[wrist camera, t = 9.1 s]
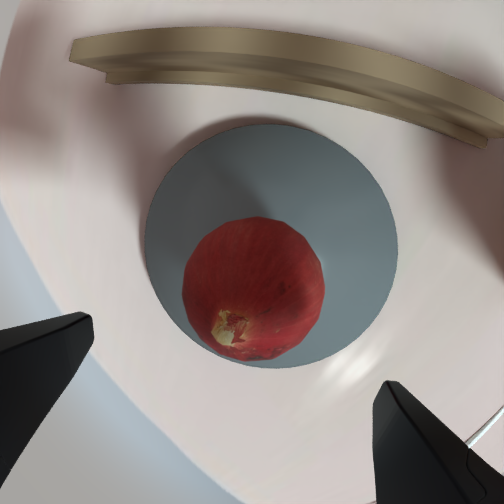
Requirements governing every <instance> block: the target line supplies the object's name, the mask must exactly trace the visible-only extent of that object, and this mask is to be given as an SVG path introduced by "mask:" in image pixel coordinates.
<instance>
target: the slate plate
mask: <svg viewBox="0 0 504 504" xmlns="http://www.w3.org/2000/svg"><path fill="white" fill-rule="evenodd" d="M255 216H260V217H265V218H270V219H274V220H279V221H283V222H285V223H286V224H288V225H289V226H290V227H292V228H293V229H295V230H296V231H297V232H299V233H300V234H302V235H303V236H304V237H305V238H306V240H307V241H308V243H309V244H310V246H311V248H312V249H313V251H314V252H315V254H316V255H317V257H318V259H319V260H320V262H321V267H322V272H323V278H324V283H325V295H324V300H323V304H322V308H321V312H320V316H319V319H318V321H317V322H316V323H315V325H314V326H313V327H312V329H311V330H310V331H309V333H308V334H307V335H306V337H305V338H304V339H303V341H302V342H301V343H300V344H299V345H297V346H295V347H294V348H292V349H290V350H289V351H287V352H285V353H283V354H282V355H280V356H278V357H277V358H275V359H272V360H261V361H248V362H243V361H240V360H236V359H233V358H230V357H226V356H223V355H220V354H218V353H217V352H216V351H215V350H213V349H212V348H211V347H209V346H208V345H207V344H205V343H204V342H203V341H202V340H201V339H200V338H199V336H198V335H197V333H196V332H195V331H194V329H193V328H192V326H191V325H190V323H189V322H188V318H187V314H186V311H185V307H184V304H183V300H182V295H181V294H182V285H183V277H184V270H185V266H186V263H187V261H188V260H189V258H190V256H191V255H192V253H193V251H194V250H195V248H196V247H197V245H198V243H199V242H200V241H201V240H202V239H203V237H204V236H205V235H207V234H209V233H210V232H212V231H213V230H215V229H216V228H218V227H219V226H221V225H222V224H224V223H226V222H229V221H234V220H239V219H245V218H250V217H255ZM145 257H146V264H147V269H148V273H149V276H150V280H151V283H152V286H153V288H154V290H155V293H156V295H157V297H158V299H159V301H160V302H161V304H162V306H163V308H164V309H165V311H166V312H167V313H168V315H169V316H170V318H171V319H172V320H173V321H174V323H175V324H176V325H177V326H178V327H179V328H180V329H181V330H182V331H183V332H184V333H185V334H186V335H187V336H189V337H190V338H191V339H192V340H193V341H195V342H196V343H197V344H199V345H200V346H202V347H203V348H205V349H206V350H208V351H210V352H212V353H214V354H216V355H218V356H220V357H222V358H225V359H227V360H230V361H232V362H236V363H239V364H243V365H247V366H253V367H259V368H276V369H277V368H291V367H297V366H302V365H307V364H310V363H313V362H316V361H320V360H322V359H324V358H326V357H329V356H331V355H333V354H335V353H337V352H338V351H340V350H342V349H343V348H345V347H347V346H348V345H349V344H350V343H352V342H353V341H354V340H356V339H357V338H358V337H359V336H360V335H361V334H362V333H363V332H364V331H365V330H366V329H367V328H368V327H369V326H370V325H371V323H372V322H373V321H374V319H375V318H376V317H377V315H378V314H379V312H380V311H381V309H382V307H383V305H384V304H385V302H386V300H387V298H388V295H389V293H390V290H391V288H392V285H393V281H394V277H395V273H396V267H397V257H398V243H397V233H396V227H395V222H394V218H393V215H392V212H391V209H390V206H389V203H388V201H387V199H386V197H385V195H384V193H383V191H382V189H381V187H380V186H379V184H378V183H377V181H376V180H375V179H374V177H373V176H372V174H371V173H370V172H369V171H368V170H367V169H366V167H365V166H364V165H363V164H362V163H361V162H360V161H359V160H358V159H357V158H356V157H354V156H353V155H352V154H351V153H349V152H348V151H347V150H346V149H344V148H343V147H341V146H340V145H338V144H336V143H335V142H333V141H331V140H329V139H328V138H326V137H323V136H321V135H319V134H316V133H314V132H311V131H308V130H305V129H301V128H296V127H292V126H285V125H275V124H263V125H250V126H245V127H239V128H234V129H231V130H228V131H226V132H223V133H220V134H217V135H215V136H213V137H211V138H209V139H207V140H205V141H203V142H202V143H200V144H199V145H197V146H196V147H194V148H193V149H192V150H190V151H189V152H187V153H186V154H185V155H184V156H183V157H182V158H181V159H180V160H179V161H178V162H177V163H176V164H175V165H174V166H173V167H172V169H171V170H170V171H169V173H168V174H167V175H166V176H165V178H164V179H163V181H162V183H161V185H160V186H159V188H158V190H157V191H156V194H155V196H154V199H153V201H152V204H151V206H150V210H149V214H148V217H147V221H146V229H145Z"/></svg>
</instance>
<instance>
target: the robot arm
mask: <svg viewBox="0 0 504 504" xmlns="http://www.w3.org/2000/svg"><path fill="white" fill-rule="evenodd" d="M93 341H94V331H93V321H92V317H91V316H90V315H89V314H86V313H84V312H75V313H71V314H67V315H63V316H59V317H55V318H50V319H46V320H42V321H38V322H33V323H29V324H25V325H21V326H17V327H12V328H8V329H3V330H0V488H1V486H2V484H3V483H4V481H5V479H6V478H7V476H8V475H9V473H10V471H11V469H12V468H13V466H14V464H15V463H16V461H17V460H18V458H19V456H20V455H21V453H22V452H23V450H24V449H25V447H26V446H27V444H28V442H29V441H30V439H31V438H32V436H33V435H34V433H35V432H36V430H37V429H38V427H39V426H40V424H41V423H42V421H43V420H44V418H45V417H46V415H47V414H48V412H49V411H50V410H51V408H52V407H53V405H54V404H55V402H56V401H57V400H58V398H59V397H60V395H61V394H62V393H63V391H64V390H65V388H66V387H67V385H68V384H69V383H70V381H71V380H72V378H73V377H74V375H75V373H76V372H77V370H78V368H79V366H80V365H81V363H82V361H83V359H84V358H85V356H86V354H87V353H88V351H89V349H90V347H91V346H92V344H93ZM372 448H373V462H374V473H375V486H376V502H377V504H504V476H503V475H501V474H500V473H499V472H497V471H496V470H495V469H494V468H492V467H491V466H490V465H489V464H487V463H486V462H485V461H484V460H483V459H482V458H481V457H479V456H478V455H477V454H476V453H475V452H474V451H473V450H472V449H471V448H469V447H468V446H467V445H466V444H465V443H464V442H463V441H462V440H461V439H460V438H459V437H458V436H457V435H456V434H454V433H453V432H452V431H451V430H450V429H449V428H448V427H447V426H446V425H445V424H444V423H443V422H441V421H440V420H439V419H438V418H437V417H436V416H435V415H434V414H433V413H432V412H431V411H430V410H428V409H427V408H426V407H425V406H424V405H423V404H422V403H421V402H420V401H419V400H418V399H416V398H415V397H414V396H413V395H412V394H411V393H410V392H409V391H408V390H407V389H406V388H405V387H403V386H402V385H401V384H400V383H399V382H397V381H389V380H386V381H384V383H383V384H382V386H381V388H380V390H379V392H378V394H377V396H376V398H375V400H374V402H373V441H372Z"/></svg>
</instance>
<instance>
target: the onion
mask: <svg viewBox="0 0 504 504" xmlns="http://www.w3.org/2000/svg"><path fill="white" fill-rule="evenodd" d="M181 295H182V300H183V304H184V307H185V311H186V314H187V318H188V322H189V323H190V325H191V326H192V328H193V329H194V331H195V332H196V333H197V335H198V336H199V338H200V339H201V340H202V341H203V342H204V343H205V344H207V345H208V346H209V347H211V348H212V349H213V350H215V351H216V352H217V353H218V354H220V355H223V356H226V357H230V358H233V359H236V360H240V361H243V362H248V361H261V360H272V359H275V358H277V357H278V356H280V355H282V354H283V353H285V352H287V351H289V350H290V349H292V348H294V347H295V346H297V345H299V344H300V343H301V342H302V341H303V339H304V338H305V337H306V335H307V334H308V333H309V331H310V330H311V329H312V327H313V326H314V325H315V323H316V322H317V321H318V319H319V316H320V312H321V308H322V304H323V300H324V295H325V283H324V278H323V272H322V267H321V262H320V260H319V259H318V257H317V255H316V254H315V252H314V251H313V249H312V248H311V246H310V244H309V243H308V241H307V240H306V238H305V237H304V236H303V235H302V234H300V233H299V232H297V231H296V230H295V229H293V228H292V227H290V226H289V225H288V224H286V223H285V222H283V221H279V220H274V219H270V218H265V217H260V216H255V217H250V218H245V219H239V220H234V221H229V222H226V223H224V224H222V225H221V226H219V227H218V228H216V229H215V230H213V231H212V232H210V233H209V234H207V235H205V236H204V237H203V239H202V240H201V241H200V242H199V243H198V245H197V247H196V248H195V250H194V251H193V253H192V255H191V256H190V258H189V260H188V261H187V263H186V266H185V270H184V277H183V285H182V294H181Z"/></svg>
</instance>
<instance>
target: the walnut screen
mask: <svg viewBox="0 0 504 504" xmlns="http://www.w3.org/2000/svg"><path fill="white" fill-rule="evenodd" d="M69 61H70V62H73V63H77V64H80V65H84V66H87V67H90V68H93V69H96V70H99V71H102V72H106V73H107V77H106V83H109V84H140V83H167V84H196V85H213V86H226V87H237V88H246V89H255V90H263V91H270V92H277V93H284V94H290V95H296V96H302V97H308V98H313V99H318V100H324V101H328V102H333V103H338V104H342V105H347V106H351V107H355V108H359V109H363V110H367V111H371V112H375V113H379V114H382V115H386V116H389V117H393V118H396V119H400V120H403V121H406V122H409V123H413V124H416V125H419V126H422V127H425V128H428V129H431V130H434V131H436V132H439V133H442V134H445V135H447V136H450V137H453V138H455V139H458V140H460V141H463V142H466V143H468V144H470V145H473V146H475V147H478V148H486V146H487V138H504V101H503V100H501V99H499V98H497V97H495V96H493V95H491V94H489V93H487V92H485V91H483V90H481V89H479V88H477V87H475V86H473V85H471V84H468V83H466V82H464V81H462V80H459V79H457V78H455V77H452V76H450V75H448V74H445V73H443V72H440V71H438V70H435V69H432V68H430V67H427V66H424V65H421V64H419V63H416V62H413V61H410V60H407V59H404V58H401V57H398V56H394V55H391V54H388V53H384V52H381V51H377V50H373V49H370V48H366V47H362V46H358V45H354V44H349V43H345V42H340V41H336V40H331V39H326V38H320V37H315V36H309V35H302V34H295V33H288V32H280V31H271V30H261V29H249V28H232V27H173V28H156V29H144V30H134V31H125V32H117V33H110V34H103V35H97V36H92V37H86V38H81V39H76V40H74V42H73V45H72V50H71V54H70V58H69Z"/></svg>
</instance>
